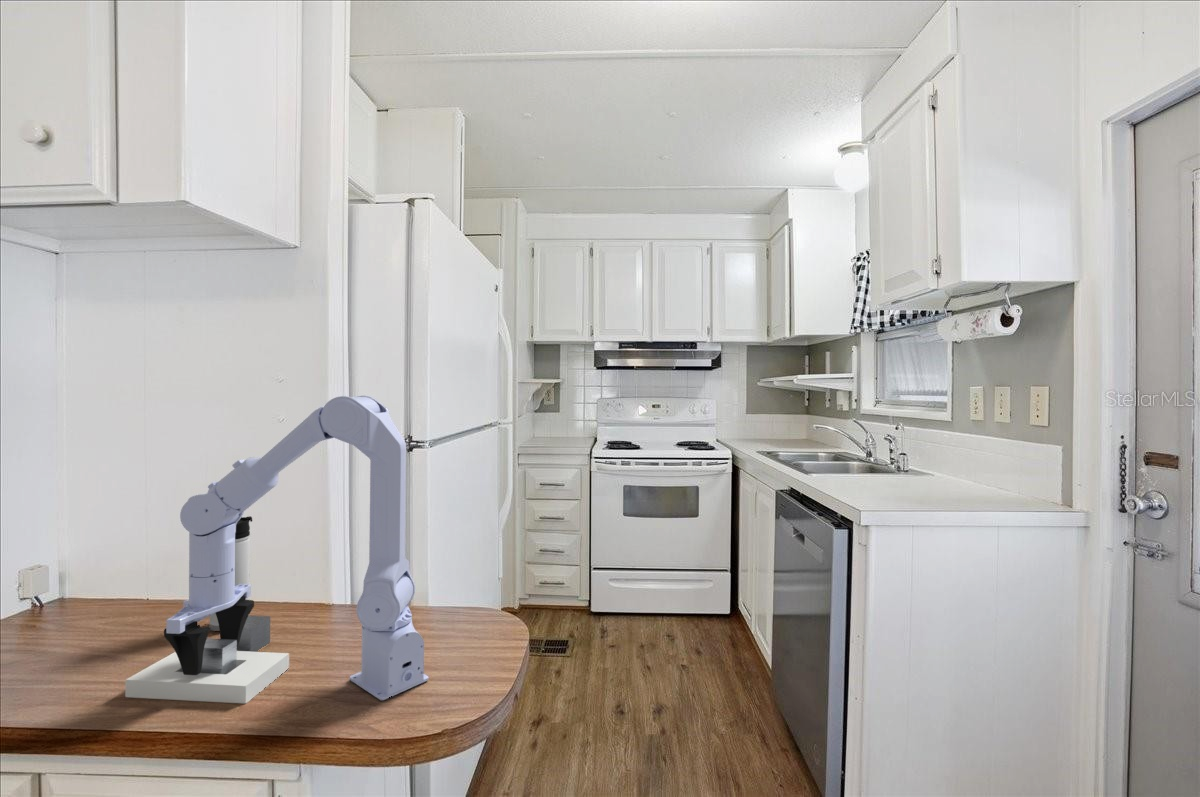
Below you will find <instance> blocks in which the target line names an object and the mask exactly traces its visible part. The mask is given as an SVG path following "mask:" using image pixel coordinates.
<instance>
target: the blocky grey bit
mask: <svg viewBox="0 0 1200 797" xmlns="http://www.w3.org/2000/svg"><path fill="white" fill-rule="evenodd" d="M236 664H237V640H229V639H220V638H207V639H206V642H205V646H204V651H203V662H202V668H201V672H200V673H208V674H228V673H229V672H231V671H232V670H234V669H235V668H236ZM180 672H183V671H182V667H181V671H180Z"/></svg>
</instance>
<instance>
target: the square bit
mask: <svg viewBox="0 0 1200 797" xmlns="http://www.w3.org/2000/svg"><path fill="white" fill-rule="evenodd" d="M269 643H270V644H271V616H268V615H266V616H265V615H252V614H251V615H250V614H249V616H248V618H247V620H246V622H245V625H244V627H243V631H242V634H241V638H240V641H239V645H238V648H237V651H250V652H257V651H258V650H259V649H261V648H262V647H264V646H266V645H267V644H269Z"/></svg>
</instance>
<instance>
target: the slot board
mask: <svg viewBox="0 0 1200 797" xmlns="http://www.w3.org/2000/svg"><path fill="white" fill-rule="evenodd" d="M288 668H289V669H290V652H289V653H287V652H272V651H271V652H269V651H267V652H266V651H265V652H264V651H260V652H250V651H237V664H236V668H235V669H234V670H232V671H231V672H229V673H228V674H208V673H199V674H198V675H184V674H183V672H180V671H181V664H180V661H179V659H178V656H177V654H176V652H175V651H174V652H173V653H171V654H168V655H167V656H165V657H163V658H162V659H160V660H158V661H156V662H154V663H153V664H151V665H149V666H147V667H145V668H144V669H142V670H140V671H139V672H137V673H135V674H133V675H131V676H130V677H128V678H126V679H125V684H124V685H125V689H124V690H125V693H124V695H125V698H135V699H153V700H173V701H190V702H191V701H192V702H212V703H225V704H226V703H228V704H229V703H231V704H247V703H249V701H251V700H252V699H253V698H254V697H256V696H257V695H259V692H260V693H261V692H262V691H263V690H265V689H266V688H267V687H269V686H270V685H271V684H272V683H274V682H275V681H276V680H277V679H278V678H279V676H280V675H281V674H282V673H283V674H285V673H286V672H287V671H288V670H289V669H288ZM287 669H288V670H287ZM286 670H287V671H286ZM285 671H286V672H285ZM284 672H285V673H284ZM283 674H282V675H283ZM282 675H281V676H282ZM281 676H280V677H281ZM277 677H278V678H277ZM275 679H276V680H275ZM274 680H275V681H274ZM270 683H271V684H270ZM269 684H270V685H269ZM265 687H266V688H265ZM264 688H265V689H264Z"/></svg>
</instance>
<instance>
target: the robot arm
mask: <svg viewBox="0 0 1200 797" xmlns="http://www.w3.org/2000/svg"><path fill="white" fill-rule="evenodd" d="M330 439H335V440H338V441H340V442H344V443H347V444H349V445H352V446H354V447H355V448H356V449H358V450H359V451H360V453H362V454H364V456H366V457H367V458H369V460H370V467H369V468H370V471H369V472H370V473H369V480H370V481H369V482H370V483H369V486H370V487H369V540H368V541H369V542H368V544H369V553H368V554H369V556H368V558H369V559H368V566H367V569H366V571H365V572H366V573H365V575H364V579H363V587H362V589H363V590H362V593H361V596H360V597H359V599H358V601H357V604H356V608H355V609H356V616H357V619H358V620H359V622H360V623H361V663H360V664H361V671H359V672H357V673H355V674H352V675H350V676H349V681H351V682H352V683H354V684H356V685H357V686H359V687H360V688H362V689H363V690H364V691H366V692H368V693H369V694H371V695H372V696H374V697H375V698H377V699H378V700H379V701H385V700H388V699H389V697H390V698H392V697H394V696H396V695H399V694H400V693H402V692H403V693H404V692H405V691H408V690H409V689H411V688H414V687H417V686H418V685H420V684H423V683H425V682H427V681H428V680H430V678H429V676H428V675H427V674H425V672H424V671H425V665H424V664H425V643H424V642H425V641H424V638H423V637H422V635H421V634H420V633H419V632H418V631H417V630H416V629H415V627H414V624H413V617H412V616H413V613H412V611H411V610H410V607H409V604H410V603H411V601H412V600H413V598H414V596H415V593H416V583H415V581H414V579H413V576H412V575H411V571H410V562H409V560H408V559H407V558H406V554H405V551H406V488H407V487H406V485H407V484H406V483H407V482H406V480H407V478H406V477H407V471H406V470H407V445H406V444H407V443H406V441H405V439H404V438H403V436H402V434H401V433H400V431H399V429H398V428H397V426H396V425H395V423H394V420H393V419H392V418H391V415H390V411H389V408H387V407H386V406H384V404H382V403H381V402H380V401H378V400H377V399H376V398H374V397H371V396H368V395H358V396H346V395H345V396H344V395H342V396H336V397H333V398H332V399H331V398H330V400H328V401H327V402H326V403H325V405H324V406H320V407H319V408H317V409H315V410H314V411H312V413H310V414H309V415H308V416H307V417H306V418H305V419H303V421H301V422H300V423H299V424H298V425H297V426H296V427H295V428H294V429H293V430H292V431H290V432H289V433H288V434H287V435H286V436H284V437H283V438H282V439H281V440H280V441H279V442H278V443H277V444H275V446H273V447H272V448H271V449H270V450H268V451H267V453H265V454H264V455H263V456H262V457H255V456H253V457H247V458H246V459H244V458H243V459H238V460H237V461H235V462H234V463H232V467H233V468H234V469H232V470H231V471H230V472H228V473H227V474H226V475H225V476H224V477H223V478H221V479H220V480H219V481H217V480H215V481H213V482H211V483H210V484H209V485H208V486H207V488H208V490H207V492H206V493H202V494H201V493H199V494H196V495H195V494H194V495H192V496H190V497H189V498H188V499H187V501H186V502H185V503H184V505H183V506H182V507H181V510H180V515H179V518H180V522H181V525H182V527H183V528H184V529H185V530H186V531H187V532H189V533H188V534H189V535H188V536H189V537H188V539H189V540H188V550H189V551H188V555H189V556H188V559H189V560H188V598H187V599H186V600H184V601H182V606H183V607H182V608H181V609H180V610H179V611H177V613H175V614H174V615H173V616H171V617H169V618H167V619H166V621H165V622H166V624H165V625H166V627H165V628H164V629H163V637H164V638H165V639H166V641H167V642H168V643H169V644H170V645H171V647H172V649H174V652H176V654H177V656H178V659H179V661H180V664H181V667H182V671H183V674H184V675H198V674H199V673H200V672H201V668H202V662H203V651H204V646H205V642H206V639H208V637H209V633H210V631H212V630H211V628H209V627H203V626H202V627H201V624H198V622H200V621H202V620H204V619H206V618H208V617H210V615H212V614H214V613H216V616H217V619H218V623H219V629H220V632H219V639H229V640H237V648H238V645H239V641H240V638H241V634H242V631H243V627H244V625H245V622H246V620H247V618H248V616H249V615H250V613H251V612H252V610H253V609H254V607H255V600H252V599H249V600H245V598H248V597H251V596H252V595H251V594H252V593H251V592H252V584H250V585H245V584H239V585H237V586H235V533H236V524H237V522H238V521H239V520H240V519H241V517H243V515H244V512H245V511H246V510H247V509H249V508H250V507H252V506H253V505H254V504H255V503H256V502H258V501H259V500H260V499H261V498H262V497H264V496H265V495H266V494H267V493H268V492H271V490H272V489H274V488H275V487H276V486H277V485H278V482H279V473H280V472H282V470H284V469H285V468H287V467H288V466H290V465H291V464H292V463H294V462H295V461H296V460H297V459H299V458H300V457H302V456H303V455H304V454H306V453H307V452H309V451H310V449H313V448H314V447H315V446H316V445H318V444H319V443H320V442H322V441H327V440H330ZM391 696H392V697H391Z"/></svg>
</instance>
